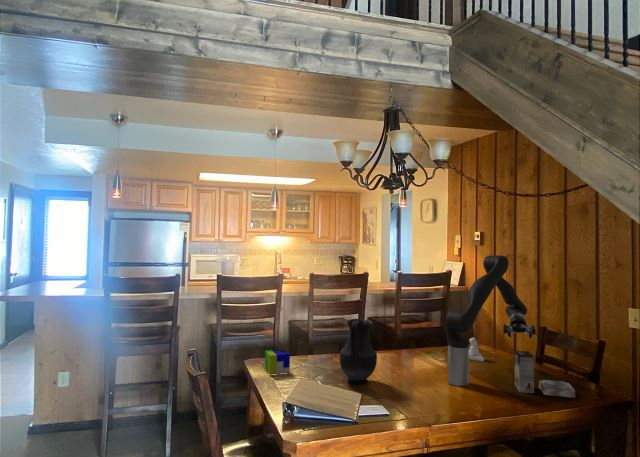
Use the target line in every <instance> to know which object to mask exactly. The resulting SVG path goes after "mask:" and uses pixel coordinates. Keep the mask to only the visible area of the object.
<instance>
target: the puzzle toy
mask: <svg viewBox="0 0 640 457" xmlns="http://www.w3.org/2000/svg"><path fill="white" fill-rule="evenodd" d="M290 355H291V354H290V353H289V352H288V351H287V350H286V349H284V348H281V349H280V348H279V349H272V350H270V349H269V350H264V370H265V369H266V371H267V372H268V373H269V374H270V375H271V374H280V373H289V372H291V371H290V369H291V365H290V364H291V356H290ZM266 371H265V372H266ZM267 372H266V373H267ZM268 373H267V374H268Z"/></svg>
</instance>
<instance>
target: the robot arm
mask: <svg viewBox="0 0 640 457" xmlns="http://www.w3.org/2000/svg"><path fill="white" fill-rule="evenodd" d="M482 264H483V268H484V271H485V272H486V274H484V275H482V276H480V277H479V278H478V279H476V280H475V281H474V282H473V283H472V284H471V286H470V287H469V289H468V291H467V300H468V307H467V309H466V310H465V311H460V310H450V311H449V312H447V314H446V318H445V327H446V328H445V331H446V340H447V380H448V381H447V383H448V385H452V386H455V387H456V386H457V387H466V386H469V385H470V365H469V364H470V359H469V349H470V346H469V345H470V344H469V343H470V342H469V340H468V339H467V338H466V337H464V336H463V335H462V334H461V333H467V332H469V331H470V330H471V329H472V328H473V326H474V323H475V322H476V319H477V317H478V315H479V313H480V311H481V310H482V307H483V306H484V304H485V303H486V301H487V299H488V298H489V296H490V295H491V294H492V291H493V290H494V288H495V287H496V288H497V289H498V291H499V293H500V295H501V297H502V299H503V301H504V303H505V304H506V305H507V306H506V307H505V313H506V316H507V317H508V318H509V325H507V324H505V323H504V324H503V326H502V328H503V329H502V330H503V331H502V333H503V334H504V335H505V334H507V337H509V338H511V337H512V335H513V334H515V333H517V334H521V333H523V334H525V335H528V338H529V339H531V338H533V336H535V335H537V331H536V330H537V329H536V326H535V325H534V324H531V326H529V325H528V324H527V320H526V317H525V316H526V315H527V313H528V308H527V306H526V305H525V303H524V302H523V301H522V300H520V298H519V297H518V295H517V293H516V290H515V288H514V287H513V285H512V284H511V283H510V282H508V281H507V280H506V278H503V276H505V274H506V272H507V271H508V268H509V265H510V262H509V259H508V258H507V256H505V255H487V256H485V257H484V259H483V262H482Z"/></svg>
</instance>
